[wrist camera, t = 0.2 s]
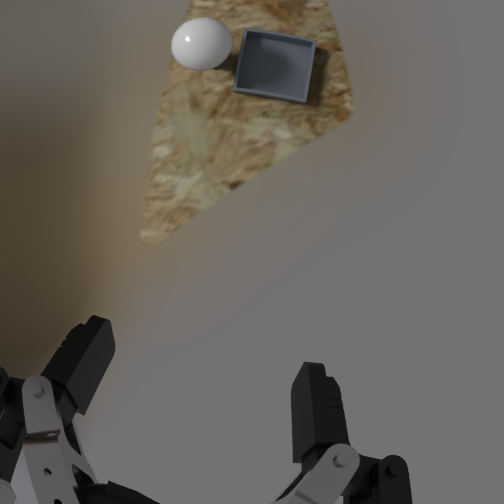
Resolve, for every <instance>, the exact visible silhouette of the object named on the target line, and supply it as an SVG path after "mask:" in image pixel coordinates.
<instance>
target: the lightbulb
mask: <svg viewBox="0 0 504 504" xmlns="http://www.w3.org/2000/svg"><path fill="white" fill-rule="evenodd" d="M232 46H233V38H232V34H231V32H230V30H229V29H228V27H227V26H226V25H225V24H223V23H222V22H221V21H219V20H216V19H213V18H209V17H200V18H195V19H191V20H189V21H187V22H185V23H184V24H182V25H181V26H180V27H179V28H178V29H177V30H176V32H175V34H174V35H173V38H172V41H171V51H172V54H173V57H174V58H175V60H176V61H177V62H178V63H179V64H180V65H182V66H183V67H185V68H188V69H191V70H196V71H203V70H209V69H212V68H216V67H218V66H220V65H221V64H222V62H224V61H225V60H226V59H227V57H228V56H229V54H230V52H231V50H232Z"/></svg>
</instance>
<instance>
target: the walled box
mask: <svg viewBox="0 0 504 504" xmlns="http://www.w3.org/2000/svg"><path fill="white" fill-rule="evenodd" d="M316 41H317V40H313V39H308V38H304V37H299V36H295V35H289V34H284V33H278V32H272V31H265V30H258V29H249V28H244V33H243V37H242V42H241V47H240V52H239V57H238V63H237V68H236V73H235V79H234V84H233V91H234V93H241V94H248V95H255V96H262V97H268V98H274V99H279V100H285V101H290V102H295V103H299V104H304V103H306V99H307V94H308V88H309V83H310V77H311V71H312V65H313V59H314V53H315V47H316Z"/></svg>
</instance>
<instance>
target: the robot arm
mask: <svg viewBox="0 0 504 504" xmlns="http://www.w3.org/2000/svg"><path fill="white" fill-rule="evenodd" d="M114 352H115V341H114V336H113V332H112V327H111V322H110V320H108V319H104V318H102V317H99V316H96V315H92V316H91V317H90V318H89V320H88V321H87V323H86V324H85V325H84V324H82V323H81V324H79V325H77V326H76V327H75V328H73V329H71V331H70V332H69V334H68V335H67V336H66V338H65V340H64V341H63V342H62V344H61V345H60V347H59V348H58V350H57V351H56V352H55V354H54V355H53V357H52V358H51V360H50V361H49V363H48V364H47V366H46V368H45V369H44V371H43V372H42V373H41V374H40V375H34V376H31V377H29V378H28V379H27V380H24V379H19V378H14V377H10V376H8V374H7V373H6V371H5V370H4V369H3V368H1V367H0V416H1V414H2V412H3V410H4V412H3V414H2V416H1V418H0V504H14V501H15V500H16V495H15V493H14V492H13V489H12V487H11V485H10V483H11V479H12V476H13V472H14V469H15V466H16V463H17V460H18V458H19V455H20V452H21V449H22V446H23V448H24V453H25V458H26V462H27V466H28V470H29V474H30V477H31V481H32V484H33V488H34V491H35V494H36V497H37V500H38V503H39V504H160V503H158V502H156V501H154V500H152V499H150V498H148V497H146V496H144V495H143V494H141V493H139V492H137V491H135V490H132V489H129V488H127V487H124V486H121V485H118V484H116V483H113V482H111V481H108V484H100V483H98V482H97V479H96V477H95V474H94V472H93V470H92V468H91V466H90V464H89V463H88V461H87V459H86V457H85V455H84V452H83V449H82V446H81V442H80V439H79V436H78V432H77V429H76V425H75V421H74V418H73V417H74V415H75V413H76V412H78V413H80V414H82V415H85V413H86V411H87V408H88V406H89V404H90V402H91V400H92V398H93V396H94V394H95V392H96V390H97V388H98V385H99V383H100V382H101V380H102V377H103V376H104V373H105V371H106V370H107V368H108V366H109V364H110V362H111V360H112V358H113V356H114ZM341 398H342V397H341V392H340V387H339V385H338V384H337V382H336V381H335V379H334V378H333V377H326V372H325V367H324V365H323V364H322V363H313V362H304V363H303V365H302V367H301V369H300V371H299V373H298V375H297V377H296V378H295V380H294V382H293V385H292V390H291V411H292V442H293V463H301V464H302V470H301V471H300V472H299V473H298V475H297V476H296V477H295V478H294V479H293V480H292V481H291V482H290V484H289V485H288V486H287V487H286V488H285V489H284V490H283V491H282V492H281V493H280V494H279V495H278V497H276V499H275V500H274V501H272V502H271V503H270V504H334V503H335V501H336V500H337V499H338V497H339V496H343V499H344V500H343V504H412V496H411V487H410V479H409V473H408V467H407V464H406V462H405V460H404V459H403V458H401V457H400V456H397V455H389V456H387V457H385V458H384V459H382V460H381V459H376V458H371V457H367V456H363V455H360V454H358V453H357V451H356V450H355V449H354V448H353V447H351V445H350V443H349V439H348V432H347V426H346V420H345V414H344V409H343V403H342V400H341ZM26 436H27V437H26Z"/></svg>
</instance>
